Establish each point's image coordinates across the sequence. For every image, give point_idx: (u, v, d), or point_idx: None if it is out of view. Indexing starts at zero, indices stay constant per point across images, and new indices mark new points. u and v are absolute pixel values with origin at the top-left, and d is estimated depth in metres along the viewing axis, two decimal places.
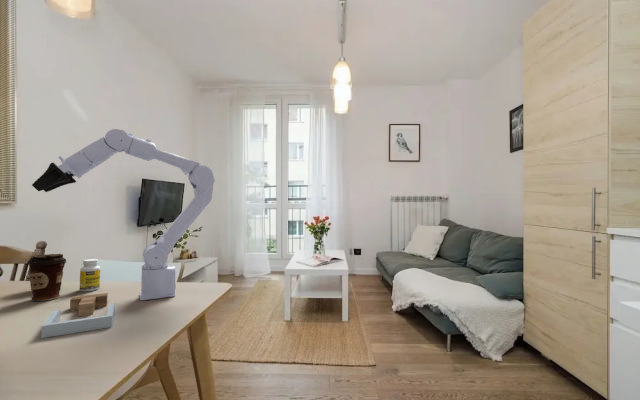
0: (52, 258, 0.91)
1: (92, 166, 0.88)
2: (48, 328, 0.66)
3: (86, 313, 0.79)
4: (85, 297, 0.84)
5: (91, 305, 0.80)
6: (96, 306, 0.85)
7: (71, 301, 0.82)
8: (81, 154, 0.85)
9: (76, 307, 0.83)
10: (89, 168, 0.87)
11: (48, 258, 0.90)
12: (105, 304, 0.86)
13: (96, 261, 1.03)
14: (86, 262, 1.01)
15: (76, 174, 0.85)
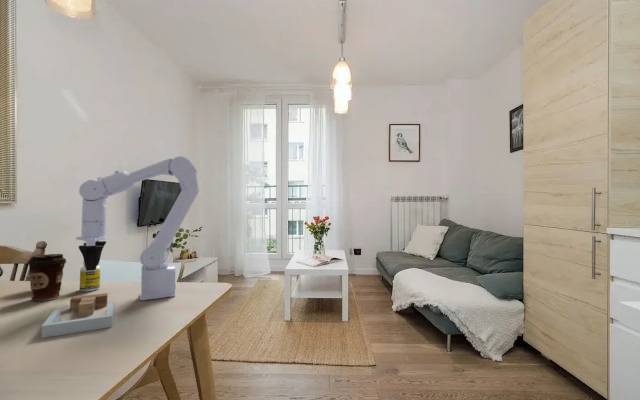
0: (52, 258, 0.91)
1: (103, 223, 0.92)
2: (48, 328, 0.66)
3: (86, 313, 0.79)
4: (85, 297, 0.84)
5: (91, 305, 0.80)
6: (96, 306, 0.85)
7: (71, 301, 0.82)
8: (87, 223, 0.89)
9: (76, 307, 0.83)
10: (103, 226, 0.92)
11: (48, 258, 0.90)
12: (105, 304, 0.86)
13: None
14: None
15: (101, 238, 0.91)
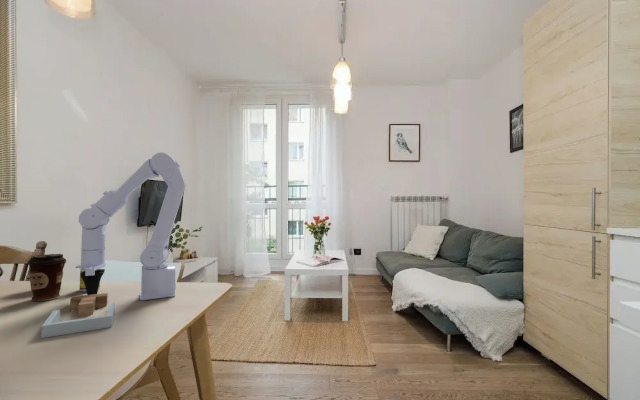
0: (52, 258, 0.91)
1: (103, 251, 0.92)
2: (48, 328, 0.66)
3: (86, 313, 0.79)
4: (85, 297, 0.84)
5: (91, 305, 0.80)
6: (96, 306, 0.85)
7: (71, 301, 0.82)
8: (86, 252, 0.89)
9: (76, 307, 0.83)
10: (103, 254, 0.92)
11: (48, 258, 0.90)
12: (105, 304, 0.86)
13: None
14: None
15: (101, 266, 0.91)
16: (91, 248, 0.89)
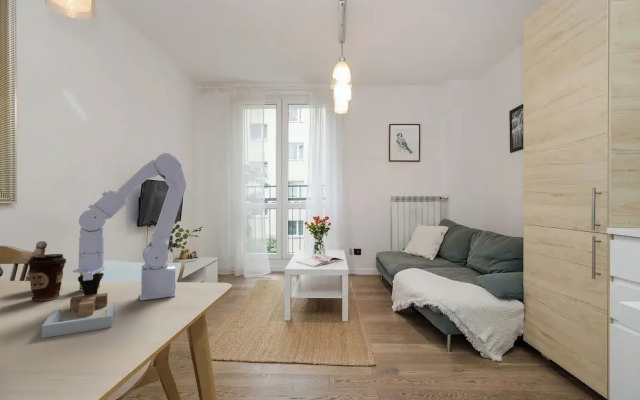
0: (52, 258, 0.91)
1: (101, 254, 0.88)
2: (48, 328, 0.66)
3: (86, 313, 0.79)
4: (85, 297, 0.84)
5: (91, 305, 0.80)
6: (96, 306, 0.85)
7: (71, 301, 0.82)
8: (84, 255, 0.85)
9: (76, 307, 0.83)
10: (101, 257, 0.88)
11: (48, 258, 0.90)
12: (105, 304, 0.86)
13: None
14: None
15: (100, 270, 0.87)
16: (93, 251, 0.86)
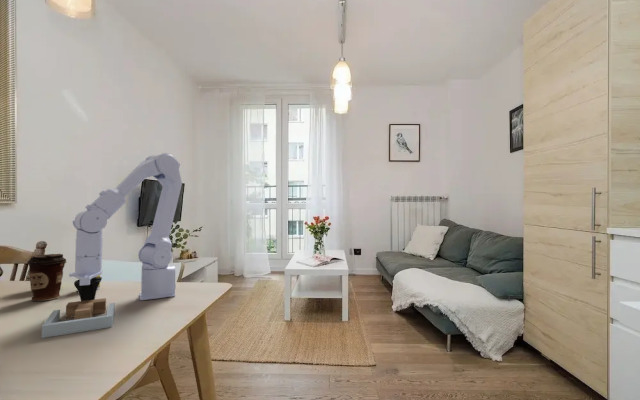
0: (52, 258, 0.91)
1: (99, 257, 0.83)
2: (48, 328, 0.66)
3: None
4: (82, 303, 0.79)
5: (88, 312, 0.75)
6: (94, 312, 0.80)
7: (67, 307, 0.77)
8: (81, 258, 0.80)
9: (72, 314, 0.78)
10: (99, 260, 0.83)
11: (48, 258, 0.90)
12: (103, 310, 0.81)
13: None
14: None
15: (97, 274, 0.82)
16: (94, 254, 0.82)
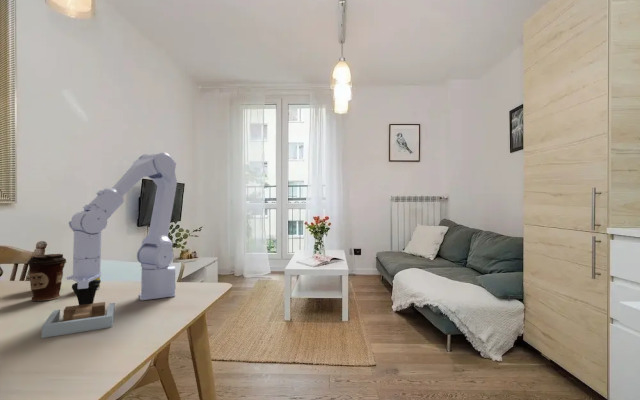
0: (52, 258, 0.91)
1: (98, 259, 0.80)
2: (48, 328, 0.66)
3: None
4: (80, 307, 0.76)
5: (87, 317, 0.72)
6: None
7: (65, 312, 0.74)
8: (79, 260, 0.77)
9: (70, 318, 0.75)
10: (98, 263, 0.80)
11: (48, 258, 0.90)
12: (102, 314, 0.78)
13: None
14: None
15: (96, 277, 0.79)
16: (95, 255, 0.79)
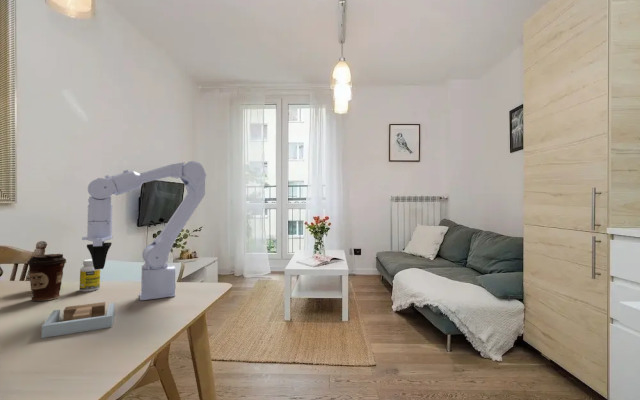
0: (52, 258, 0.91)
1: (110, 223, 0.89)
2: (48, 328, 0.66)
3: None
4: (80, 307, 0.76)
5: (87, 317, 0.72)
6: None
7: (65, 312, 0.74)
8: (93, 223, 0.86)
9: (70, 318, 0.75)
10: (110, 226, 0.89)
11: (48, 258, 0.90)
12: (102, 315, 0.78)
13: None
14: (86, 262, 1.01)
15: (108, 238, 0.88)
16: (101, 219, 0.87)
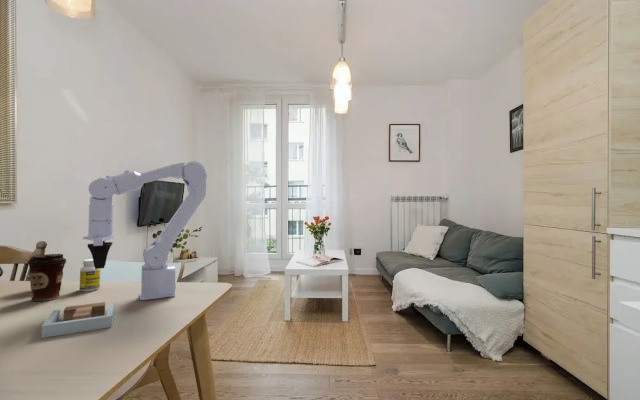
0: (52, 258, 0.91)
1: (111, 222, 0.90)
2: (48, 328, 0.66)
3: None
4: (80, 307, 0.76)
5: (87, 317, 0.72)
6: None
7: (65, 312, 0.74)
8: (94, 222, 0.87)
9: (70, 318, 0.75)
10: (111, 226, 0.90)
11: (48, 258, 0.90)
12: (102, 315, 0.78)
13: None
14: (86, 262, 1.01)
15: (109, 238, 0.88)
16: (102, 219, 0.87)
